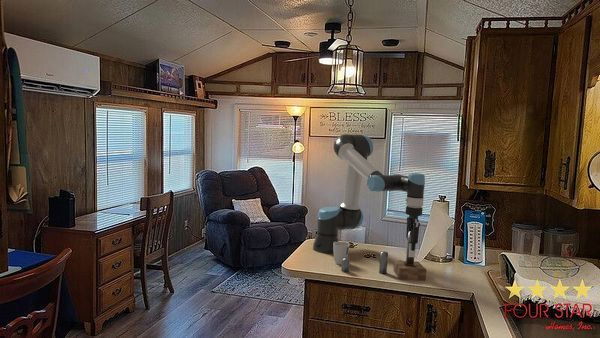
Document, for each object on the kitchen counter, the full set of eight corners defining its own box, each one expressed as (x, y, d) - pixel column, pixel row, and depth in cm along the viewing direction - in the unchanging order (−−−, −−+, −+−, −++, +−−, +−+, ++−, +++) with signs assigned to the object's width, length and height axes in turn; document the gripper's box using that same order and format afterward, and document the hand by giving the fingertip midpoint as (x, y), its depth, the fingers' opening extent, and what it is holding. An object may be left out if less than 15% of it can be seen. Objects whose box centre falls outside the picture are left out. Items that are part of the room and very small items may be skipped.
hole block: (393, 270, 210) (394, 260, 210) (417, 271, 210) (418, 261, 210) (399, 279, 198) (400, 268, 198) (425, 280, 198) (426, 269, 198)
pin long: (405, 261, 205) (407, 230, 204) (412, 262, 206) (415, 231, 204) (407, 264, 202) (409, 232, 200) (414, 264, 202) (417, 232, 201)
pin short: (341, 269, 207) (341, 257, 207) (348, 270, 207) (349, 257, 207) (341, 272, 204) (342, 259, 203) (349, 272, 204) (350, 260, 203)
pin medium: (378, 271, 208) (379, 251, 207) (385, 271, 208) (387, 251, 207) (379, 273, 204) (381, 253, 203) (387, 274, 204) (388, 253, 203)
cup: (347, 266, 213) (348, 246, 212) (331, 264, 214) (332, 244, 213) (349, 261, 221) (350, 242, 220) (333, 260, 222) (334, 240, 221)
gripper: (401, 202, 209) (398, 250, 212) (411, 209, 193) (407, 260, 195) (417, 203, 210) (413, 250, 212) (427, 210, 193) (423, 261, 195)
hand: (410, 255), depth 203 cm, fingers closed on pin long, 3 cm apart
